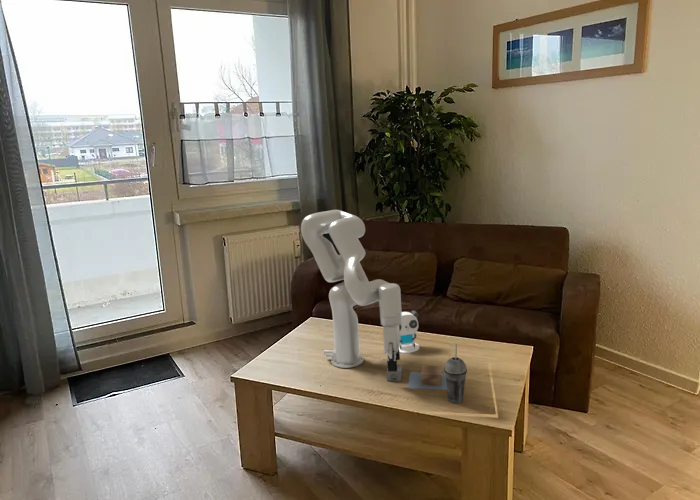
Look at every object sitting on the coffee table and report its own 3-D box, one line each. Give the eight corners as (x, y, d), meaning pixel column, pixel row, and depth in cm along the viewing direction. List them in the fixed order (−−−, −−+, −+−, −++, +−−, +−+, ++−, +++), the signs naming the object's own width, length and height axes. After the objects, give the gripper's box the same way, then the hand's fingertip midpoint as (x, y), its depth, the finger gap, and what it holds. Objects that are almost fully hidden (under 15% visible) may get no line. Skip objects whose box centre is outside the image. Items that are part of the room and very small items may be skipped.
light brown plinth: (421, 384, 183) (420, 374, 182) (422, 375, 189) (422, 365, 188) (441, 385, 181) (441, 375, 180) (442, 376, 188) (441, 366, 187)
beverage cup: (442, 406, 170) (441, 348, 165) (446, 395, 177) (446, 339, 172) (465, 409, 167) (465, 351, 163) (468, 398, 174) (468, 342, 169)
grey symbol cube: (388, 377, 192) (388, 364, 191) (402, 377, 191) (402, 364, 190) (386, 383, 187) (386, 370, 186) (401, 384, 186) (400, 371, 185)
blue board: (407, 390, 181) (407, 387, 181) (410, 374, 193) (410, 372, 193) (455, 392, 178) (455, 390, 178) (454, 376, 190) (454, 373, 190)
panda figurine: (395, 355, 210) (394, 319, 206) (386, 344, 221) (385, 310, 217) (423, 350, 212) (423, 315, 209) (413, 340, 223) (412, 306, 220)
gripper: (383, 311, 193) (386, 355, 196) (377, 327, 176) (380, 375, 179) (404, 311, 191) (406, 355, 195) (399, 327, 175) (402, 375, 178)
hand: (394, 365), depth 187 cm, fingers open, 9 cm apart
